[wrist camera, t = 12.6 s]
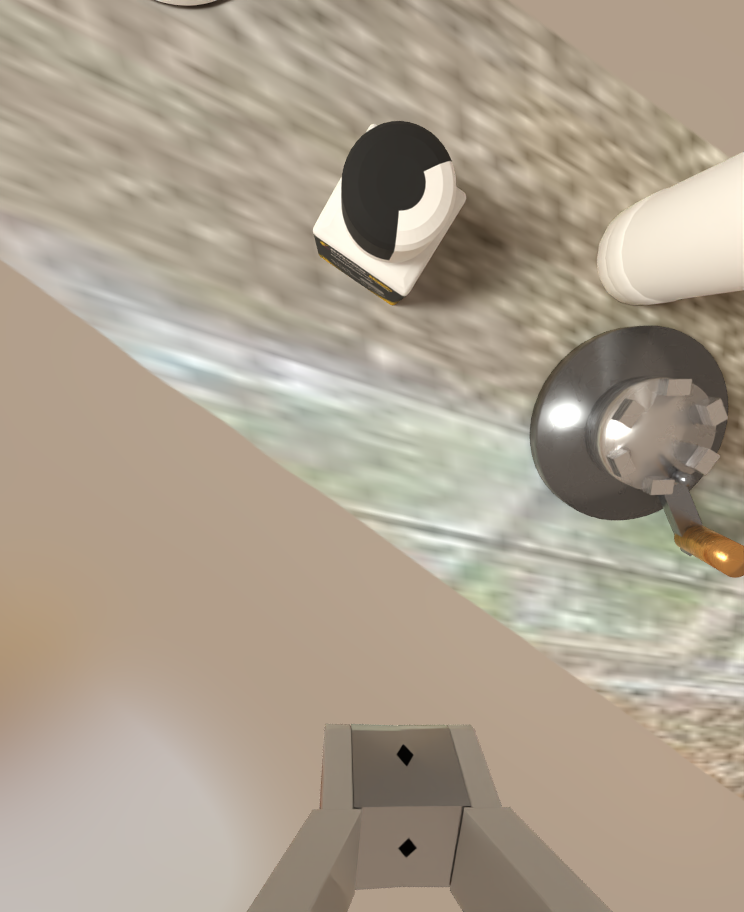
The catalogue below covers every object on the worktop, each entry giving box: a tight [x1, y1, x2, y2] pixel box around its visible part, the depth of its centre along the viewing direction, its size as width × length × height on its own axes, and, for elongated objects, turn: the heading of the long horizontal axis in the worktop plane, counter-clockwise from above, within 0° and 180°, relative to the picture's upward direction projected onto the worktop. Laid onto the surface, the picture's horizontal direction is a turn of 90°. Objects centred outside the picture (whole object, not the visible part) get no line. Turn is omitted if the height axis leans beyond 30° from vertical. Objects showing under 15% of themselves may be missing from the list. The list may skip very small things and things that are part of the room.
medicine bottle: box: [313, 121, 466, 305], centre depth 27 cm, size 7×7×12 cm
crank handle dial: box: [585, 376, 744, 578], centre depth 34 cm, size 17×9×6 cm, turn 31°
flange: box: [530, 326, 728, 520], centre depth 37 cm, size 17×17×2 cm
